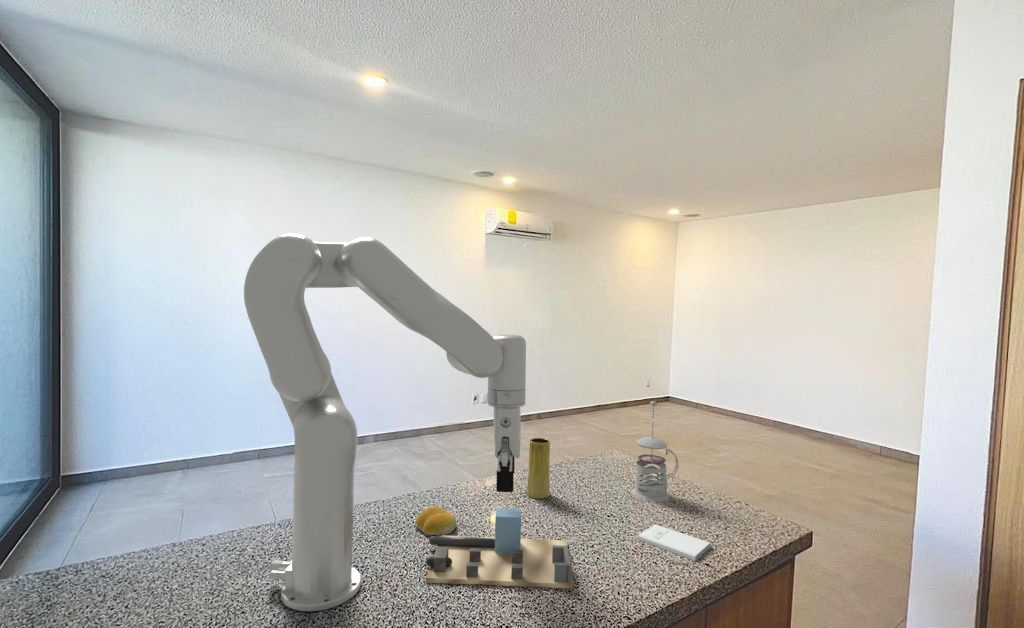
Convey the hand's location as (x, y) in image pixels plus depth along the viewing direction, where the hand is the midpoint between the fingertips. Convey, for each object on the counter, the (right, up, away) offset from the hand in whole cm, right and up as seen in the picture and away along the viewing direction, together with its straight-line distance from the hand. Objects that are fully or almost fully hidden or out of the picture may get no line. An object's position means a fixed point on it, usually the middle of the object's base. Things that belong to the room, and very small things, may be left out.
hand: (505, 482), depth 97 cm
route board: (-1, -14, -4) cm, 14 cm away
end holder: (+10, -13, -8) cm, 19 cm away
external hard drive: (+36, -16, +6) cm, 39 cm away
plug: (-6, -13, 0) cm, 14 cm away
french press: (+39, -15, +32) cm, 53 cm away
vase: (+8, -14, +30) cm, 34 cm away
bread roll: (-15, -14, +10) cm, 23 cm away
